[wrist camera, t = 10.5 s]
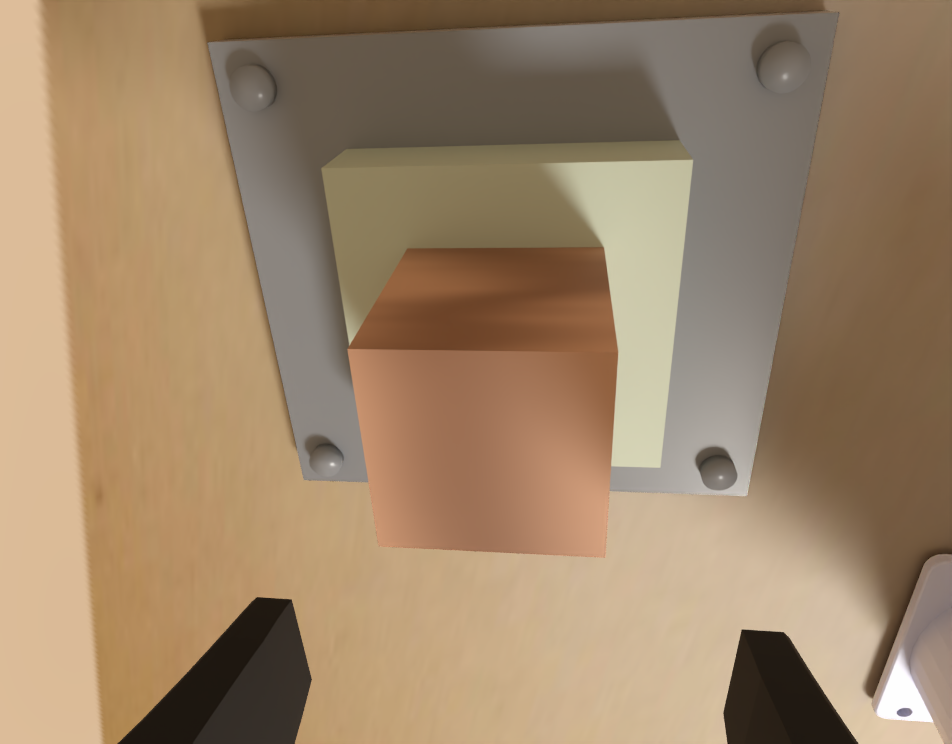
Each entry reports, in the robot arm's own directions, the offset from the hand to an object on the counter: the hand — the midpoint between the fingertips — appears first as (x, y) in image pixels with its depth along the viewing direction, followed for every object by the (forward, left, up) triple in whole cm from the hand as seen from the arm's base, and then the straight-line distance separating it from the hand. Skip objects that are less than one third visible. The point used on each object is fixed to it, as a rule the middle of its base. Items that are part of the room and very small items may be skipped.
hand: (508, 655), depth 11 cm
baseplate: (+1, -2, -10) cm, 11 cm away
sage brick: (+1, -2, -10) cm, 11 cm away
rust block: (+1, -2, -8) cm, 8 cm away
